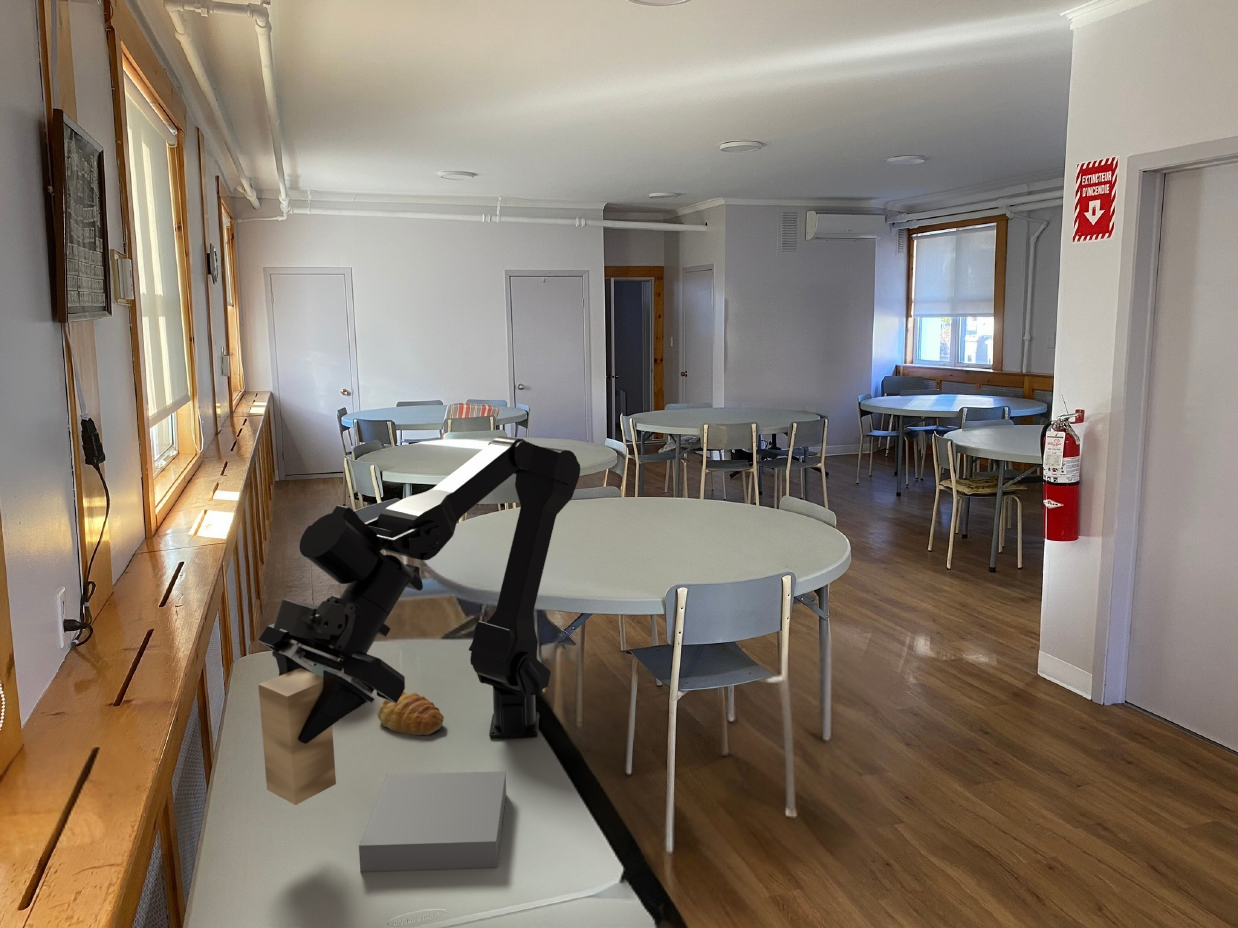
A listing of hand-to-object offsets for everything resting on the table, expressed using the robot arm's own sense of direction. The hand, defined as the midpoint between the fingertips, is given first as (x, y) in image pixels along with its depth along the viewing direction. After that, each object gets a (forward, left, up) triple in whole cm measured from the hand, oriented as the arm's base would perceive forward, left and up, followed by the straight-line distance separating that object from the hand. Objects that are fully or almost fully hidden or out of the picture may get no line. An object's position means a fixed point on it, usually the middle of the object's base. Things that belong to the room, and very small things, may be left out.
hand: (286, 734), depth 95 cm
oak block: (-1, +1, -7) cm, 7 cm away
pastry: (-29, +7, -14) cm, 33 cm away
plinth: (-3, +15, -13) cm, 20 cm away
